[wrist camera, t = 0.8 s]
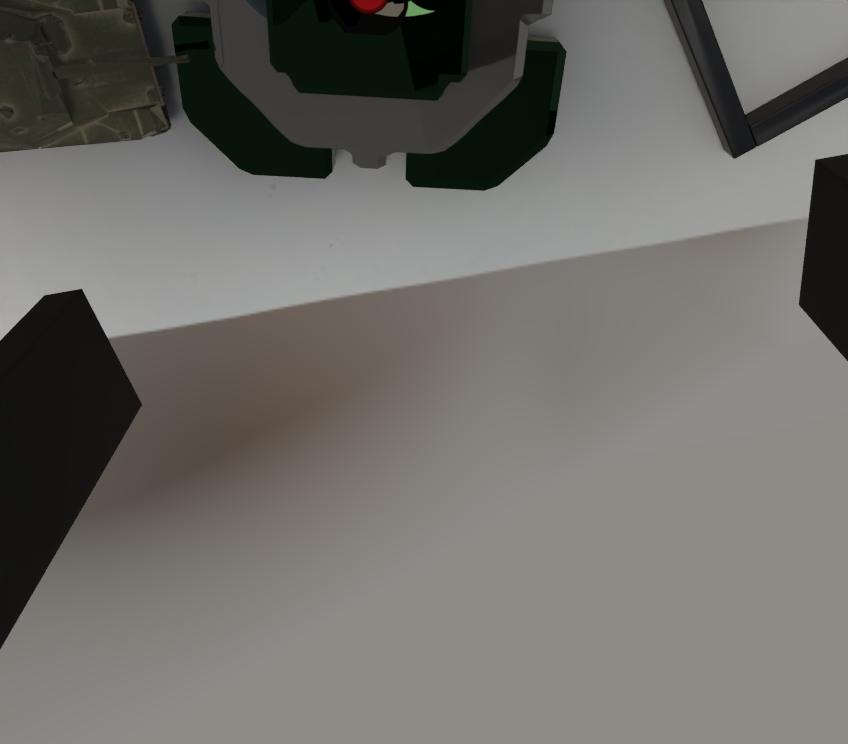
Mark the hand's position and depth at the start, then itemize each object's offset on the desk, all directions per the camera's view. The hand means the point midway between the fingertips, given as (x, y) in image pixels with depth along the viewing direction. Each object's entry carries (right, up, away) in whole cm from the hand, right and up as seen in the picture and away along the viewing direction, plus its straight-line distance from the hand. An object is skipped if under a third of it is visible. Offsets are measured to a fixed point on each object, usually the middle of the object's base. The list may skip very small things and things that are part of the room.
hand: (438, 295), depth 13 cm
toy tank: (-19, +14, +22) cm, 33 cm away
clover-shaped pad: (-3, +17, +20) cm, 27 cm away
